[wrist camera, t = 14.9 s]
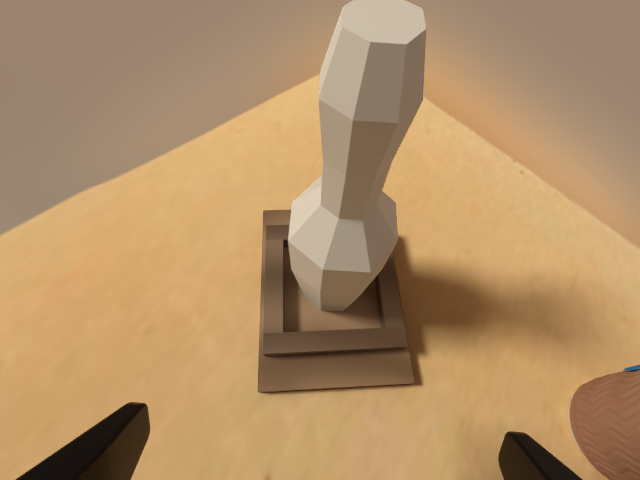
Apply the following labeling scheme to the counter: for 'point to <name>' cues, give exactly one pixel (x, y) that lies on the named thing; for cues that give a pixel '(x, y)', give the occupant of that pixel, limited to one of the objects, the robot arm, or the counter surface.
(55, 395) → the counter surface
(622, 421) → the coffee cup
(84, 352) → the counter surface
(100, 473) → the robot arm
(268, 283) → the brown wooden tray
